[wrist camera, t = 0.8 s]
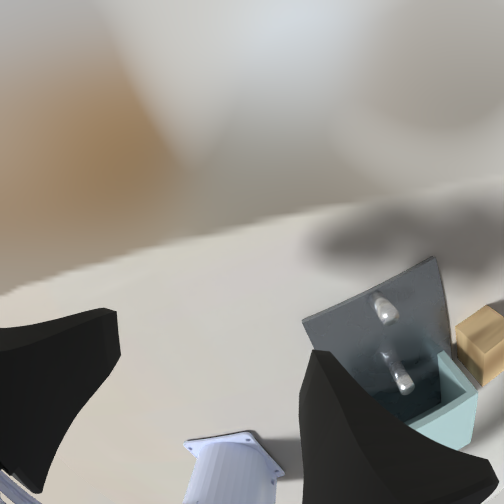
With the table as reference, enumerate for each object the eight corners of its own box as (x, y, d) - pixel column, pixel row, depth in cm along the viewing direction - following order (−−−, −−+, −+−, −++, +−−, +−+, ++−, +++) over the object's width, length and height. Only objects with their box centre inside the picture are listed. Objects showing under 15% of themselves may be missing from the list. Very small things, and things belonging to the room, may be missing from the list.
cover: (446, 403, 19) (470, 442, 13) (366, 442, 21) (377, 488, 15) (443, 350, 18) (478, 392, 12) (347, 398, 20) (361, 453, 14)
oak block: (487, 337, 18) (513, 361, 13) (457, 357, 19) (482, 387, 14) (485, 304, 18) (517, 327, 13) (454, 326, 18) (484, 354, 13)
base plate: (450, 399, 20) (463, 420, 17) (359, 444, 22) (364, 468, 19) (432, 256, 17) (457, 268, 14) (301, 319, 19) (305, 345, 16)
